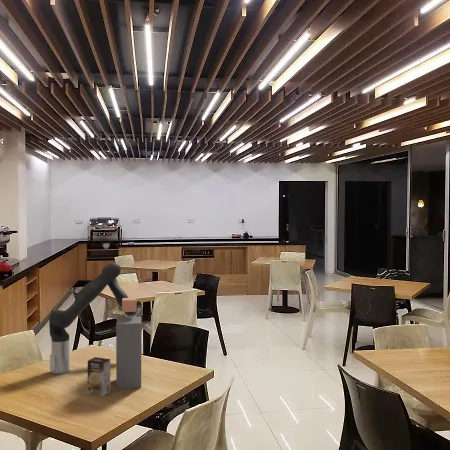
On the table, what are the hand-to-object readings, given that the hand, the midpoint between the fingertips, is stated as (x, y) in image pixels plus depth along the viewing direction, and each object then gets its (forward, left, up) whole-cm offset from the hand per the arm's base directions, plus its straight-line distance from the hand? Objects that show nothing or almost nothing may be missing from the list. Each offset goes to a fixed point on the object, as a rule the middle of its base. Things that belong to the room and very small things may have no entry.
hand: (130, 300), depth 258 cm
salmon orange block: (-2, -3, -3) cm, 5 cm away
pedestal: (-8, -13, -39) cm, 42 cm away
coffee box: (-26, -15, -39) cm, 50 cm away
